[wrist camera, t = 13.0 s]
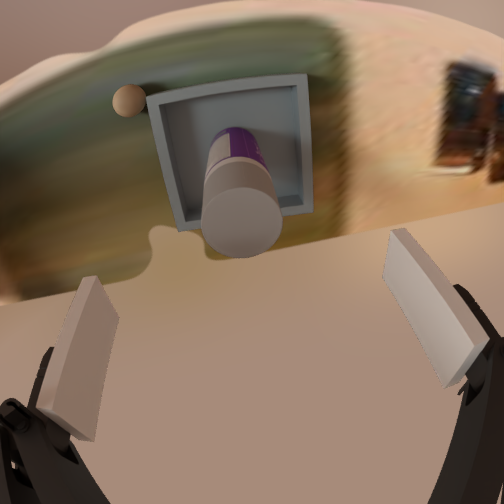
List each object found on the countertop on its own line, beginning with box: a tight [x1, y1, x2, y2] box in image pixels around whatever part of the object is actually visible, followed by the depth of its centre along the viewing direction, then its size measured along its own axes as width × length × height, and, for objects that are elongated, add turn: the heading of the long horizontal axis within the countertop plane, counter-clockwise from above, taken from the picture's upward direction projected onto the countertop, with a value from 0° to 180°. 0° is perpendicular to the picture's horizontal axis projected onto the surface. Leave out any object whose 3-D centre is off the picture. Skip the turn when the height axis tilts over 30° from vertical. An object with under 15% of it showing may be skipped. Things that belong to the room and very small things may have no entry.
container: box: [201, 126, 283, 258], centre depth 22 cm, size 5×5×15 cm
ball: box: [113, 84, 146, 117], centre depth 24 cm, size 3×3×3 cm
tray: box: [146, 73, 314, 232], centre depth 28 cm, size 14×14×3 cm
